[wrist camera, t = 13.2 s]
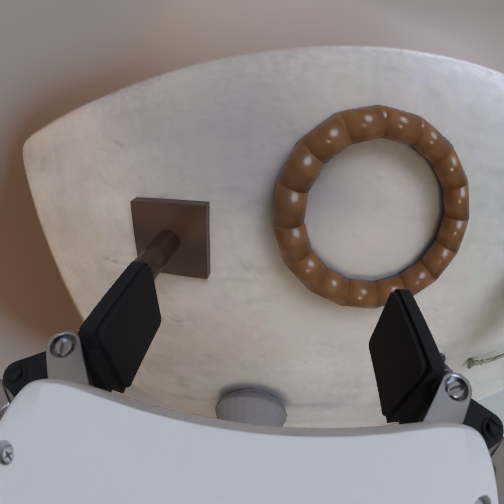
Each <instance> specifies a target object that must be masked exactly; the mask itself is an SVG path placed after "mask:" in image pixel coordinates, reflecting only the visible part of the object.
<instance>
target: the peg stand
mask: <svg viewBox="0 0 504 504" xmlns="http://www.w3.org/2000/svg"><path fill="white" fill-rule="evenodd" d="M131 212H132V220H133V228H134V236H135V243H136V249H137V256H138V257H137V258H136V259H135V260H134V261H139V262H146V263H147V264H148V266H149V267H151V268H152V272H153V277H154V280H155V279H156V277H157V276H158V274H159V273H160V272H161V273H168V274H175V275H182V276H189V277H196V278H203V279H208V276H209V274H210V245H209V202H203V201H189V200H173V199H156V198H135V199H133V200H132V201H131Z"/></svg>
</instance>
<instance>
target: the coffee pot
mask: <svg viewBox="0 0 504 504" xmlns="http://www.w3.org/2000/svg"><path fill="white" fill-rule="evenodd" d="M215 409H216V415H217V419H220V420H226V421H233V422H240V423H248V424H257V425H267V426H279V427H282V426H283V424H284V423H285V421H286V418H287V414H286V410H285V408H284V406H283V405H282V404H281V403H280V402H279V401H278V400H277V399H275V398H274V397H273V396H272V395H270V394H269V393H267V392H264V391H260V390H255V389H242V390H237V391H235V392H233V393H231V394H228V395H226V396H225V397H223V398H222V399H221V400H220V401H219V402H218V403H217V405H216V407H215Z"/></svg>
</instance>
